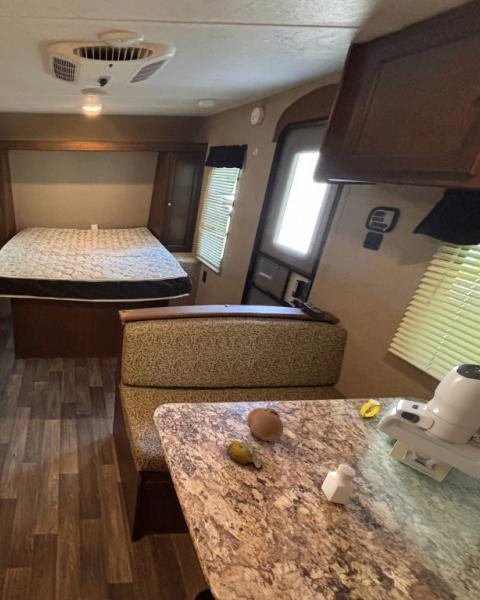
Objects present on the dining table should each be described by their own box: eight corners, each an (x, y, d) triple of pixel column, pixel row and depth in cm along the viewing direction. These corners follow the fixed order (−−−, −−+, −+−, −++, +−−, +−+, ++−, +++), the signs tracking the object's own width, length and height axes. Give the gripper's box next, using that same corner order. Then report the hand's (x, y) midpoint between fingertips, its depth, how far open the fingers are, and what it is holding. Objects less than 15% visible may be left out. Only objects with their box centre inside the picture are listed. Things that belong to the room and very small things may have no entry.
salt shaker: (328, 502, 77) (343, 476, 73) (319, 487, 80) (333, 461, 77) (346, 505, 76) (362, 478, 72) (336, 489, 80) (351, 463, 76)
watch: (364, 420, 103) (371, 405, 101) (355, 413, 106) (362, 400, 103) (378, 417, 104) (386, 404, 102) (369, 411, 107) (377, 398, 104)
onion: (261, 434, 99) (277, 407, 98) (280, 453, 90) (297, 423, 89) (235, 423, 99) (250, 395, 98) (251, 440, 90) (268, 410, 88)
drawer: (439, 493, 79) (456, 470, 76) (385, 464, 87) (398, 442, 83) (445, 455, 90) (461, 434, 87) (397, 432, 97) (409, 412, 94)
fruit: (264, 470, 84) (268, 460, 83) (233, 468, 84) (237, 459, 83) (250, 444, 92) (253, 435, 90) (221, 443, 92) (224, 434, 90)
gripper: (512, 445, 72) (478, 486, 77) (393, 396, 86) (372, 433, 92) (513, 460, 68) (477, 502, 74) (389, 405, 82) (367, 444, 88)
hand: (418, 463), depth 83 cm, fingers closed, pressing on drawer
